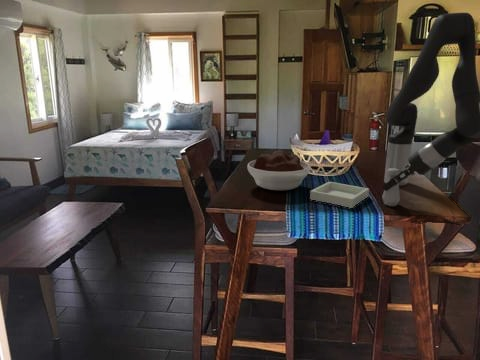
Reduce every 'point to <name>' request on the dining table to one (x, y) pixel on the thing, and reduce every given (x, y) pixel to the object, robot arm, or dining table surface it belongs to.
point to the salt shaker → (392, 190)
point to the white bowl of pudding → (278, 171)
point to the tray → (339, 194)
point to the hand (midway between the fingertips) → (386, 186)
